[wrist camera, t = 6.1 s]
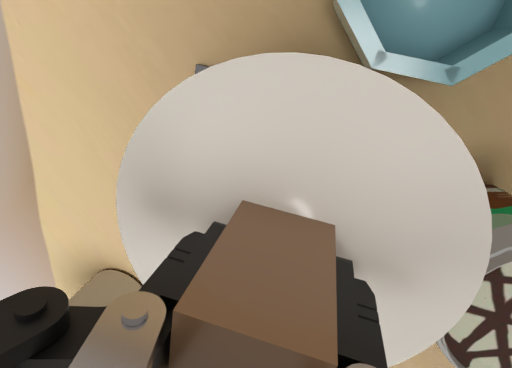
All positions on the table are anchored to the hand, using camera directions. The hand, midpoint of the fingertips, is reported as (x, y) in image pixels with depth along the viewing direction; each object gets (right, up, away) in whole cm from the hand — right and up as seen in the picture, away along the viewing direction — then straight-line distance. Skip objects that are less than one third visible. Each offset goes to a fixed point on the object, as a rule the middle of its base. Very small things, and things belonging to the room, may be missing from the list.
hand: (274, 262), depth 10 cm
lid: (0, +1, +2) cm, 2 cm away
